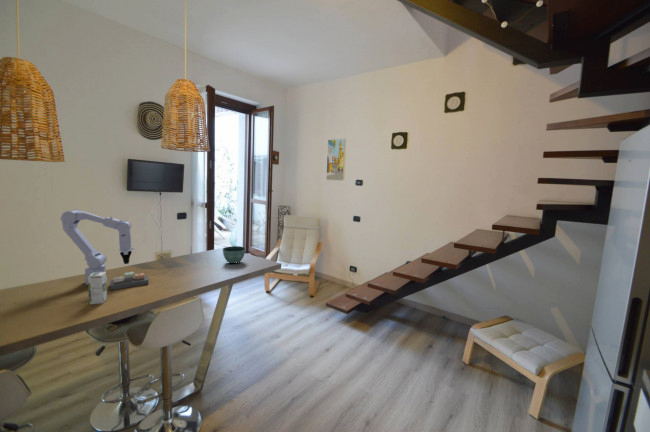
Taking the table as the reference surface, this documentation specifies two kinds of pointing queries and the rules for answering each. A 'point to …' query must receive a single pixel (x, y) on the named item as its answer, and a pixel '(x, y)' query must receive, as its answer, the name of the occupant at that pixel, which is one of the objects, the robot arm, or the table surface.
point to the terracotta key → (139, 276)
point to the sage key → (129, 276)
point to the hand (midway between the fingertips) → (126, 263)
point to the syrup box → (97, 288)
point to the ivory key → (118, 279)
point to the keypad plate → (128, 283)
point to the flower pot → (233, 254)
